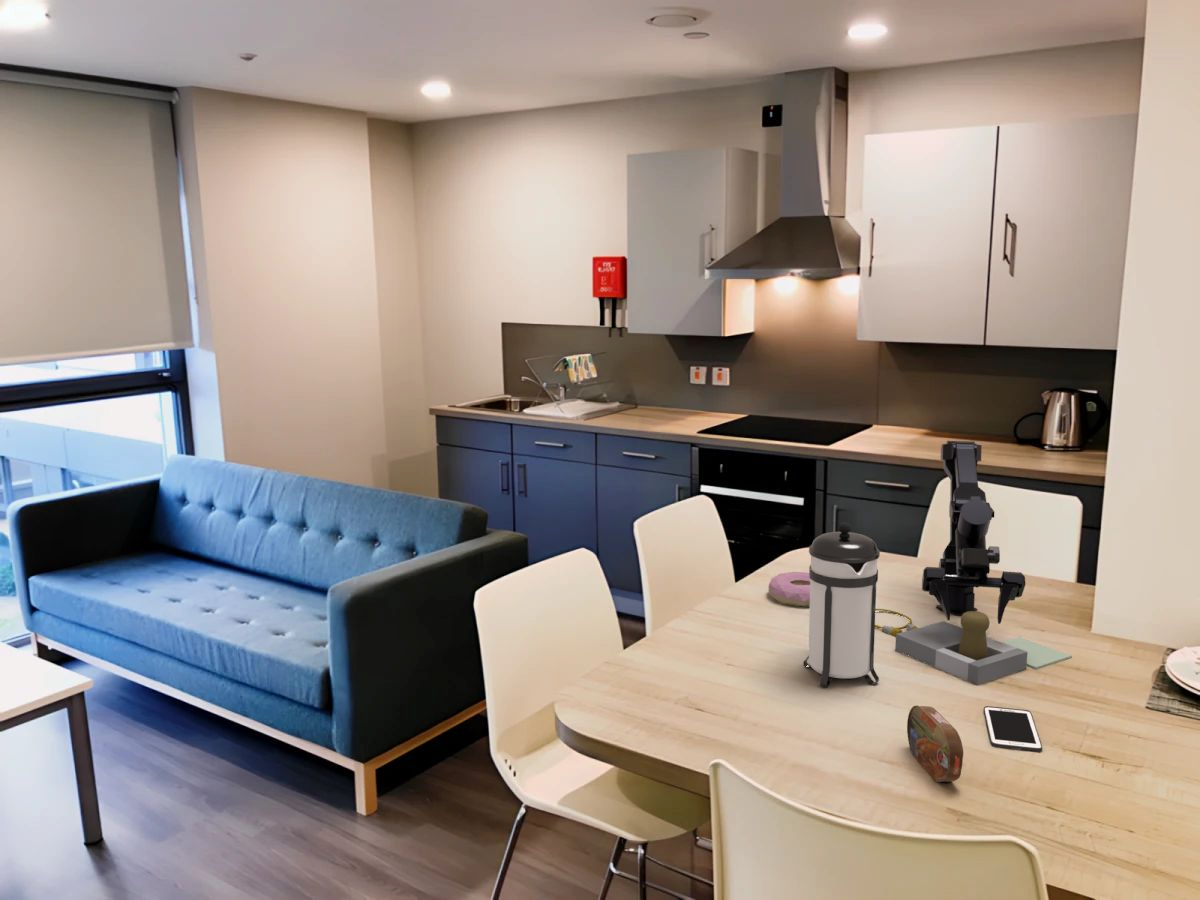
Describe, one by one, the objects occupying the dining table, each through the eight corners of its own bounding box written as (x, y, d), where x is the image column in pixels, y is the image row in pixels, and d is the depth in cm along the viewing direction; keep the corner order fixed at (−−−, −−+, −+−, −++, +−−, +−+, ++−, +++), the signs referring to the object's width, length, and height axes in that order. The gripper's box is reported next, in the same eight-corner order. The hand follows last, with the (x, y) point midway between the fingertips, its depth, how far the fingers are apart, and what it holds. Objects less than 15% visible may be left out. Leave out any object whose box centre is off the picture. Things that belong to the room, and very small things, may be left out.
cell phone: (990, 749, 157) (991, 743, 157) (982, 710, 171) (982, 705, 170) (1043, 755, 155) (1043, 749, 154) (1030, 715, 168) (1030, 709, 168)
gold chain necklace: (862, 637, 206) (862, 628, 205) (855, 612, 221) (855, 604, 221) (922, 640, 204) (922, 631, 203) (911, 614, 219) (911, 606, 219)
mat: (983, 649, 197) (983, 647, 197) (1019, 638, 203) (1019, 636, 203) (1035, 669, 187) (1036, 667, 187) (1071, 657, 192) (1072, 655, 192)
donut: (767, 587, 239) (767, 568, 238) (830, 589, 237) (831, 569, 236) (769, 609, 224) (769, 588, 223) (837, 611, 222) (837, 590, 221)
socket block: (895, 650, 197) (895, 633, 197) (943, 637, 204) (943, 621, 204) (977, 684, 180) (978, 667, 180) (1026, 669, 187) (1027, 651, 186)
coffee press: (897, 671, 187) (903, 519, 181) (856, 698, 175) (861, 537, 170) (817, 649, 198) (821, 506, 193) (774, 673, 187) (777, 521, 182)
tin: (904, 745, 158) (906, 696, 156) (923, 744, 158) (925, 695, 157) (944, 793, 143) (947, 740, 142) (965, 792, 143) (968, 738, 142)
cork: (984, 661, 191) (987, 608, 189) (993, 674, 185) (996, 618, 183) (952, 661, 192) (955, 607, 190) (960, 673, 186) (963, 618, 184)
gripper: (925, 527, 193) (926, 598, 184) (1027, 532, 188) (1032, 605, 179) (921, 555, 202) (922, 624, 193) (1018, 561, 197) (1023, 631, 188)
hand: (974, 621), depth 188 cm, fingers open, 9 cm apart
